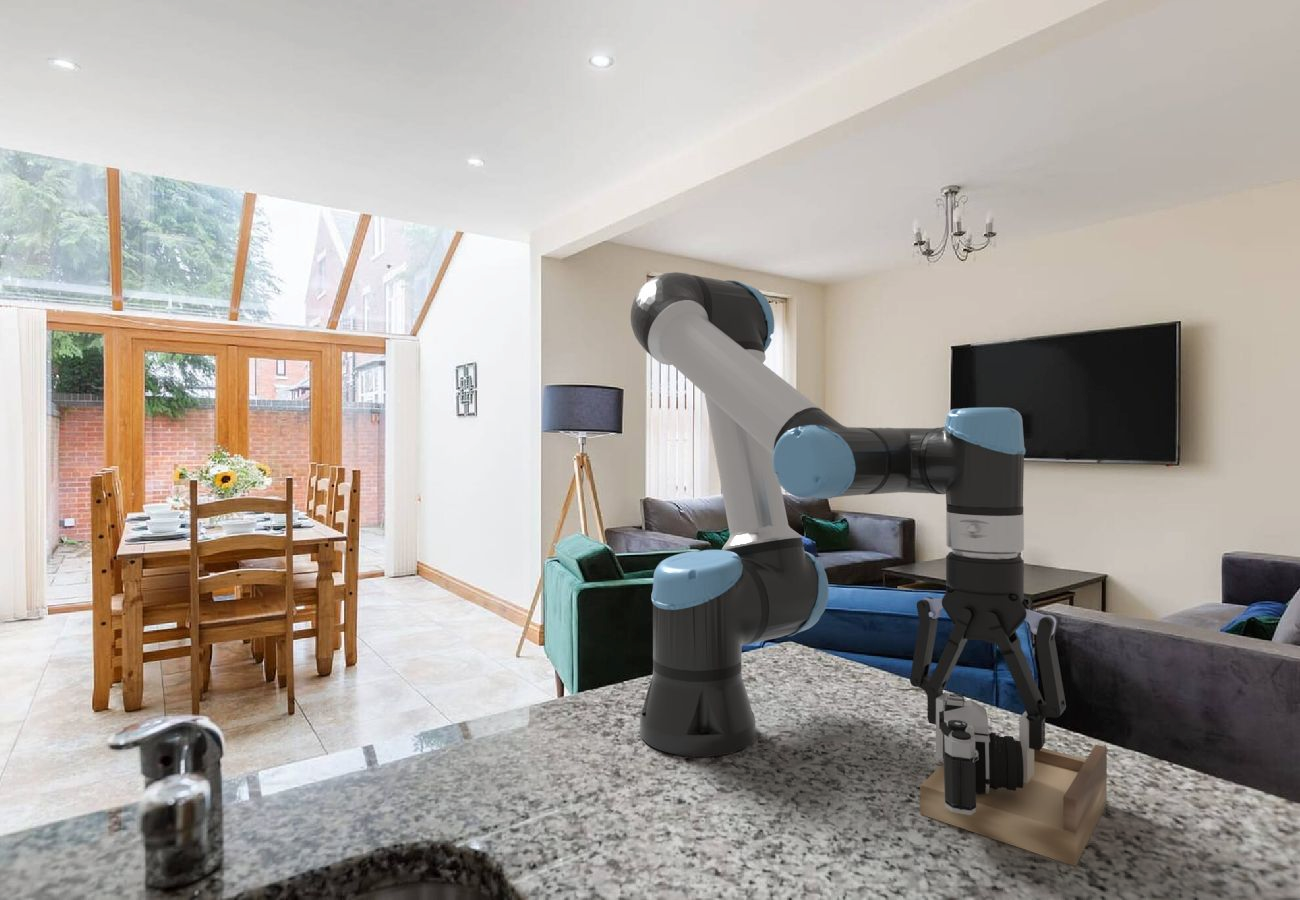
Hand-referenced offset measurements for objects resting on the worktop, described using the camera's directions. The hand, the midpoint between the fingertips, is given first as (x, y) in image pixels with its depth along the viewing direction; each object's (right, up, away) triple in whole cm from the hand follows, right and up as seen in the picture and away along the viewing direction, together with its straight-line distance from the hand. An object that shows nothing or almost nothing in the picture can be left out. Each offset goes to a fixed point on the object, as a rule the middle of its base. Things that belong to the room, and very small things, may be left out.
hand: (983, 765), depth 77 cm
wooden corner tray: (+2, -4, -2) cm, 5 cm away
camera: (-2, 0, -4) cm, 5 cm away
